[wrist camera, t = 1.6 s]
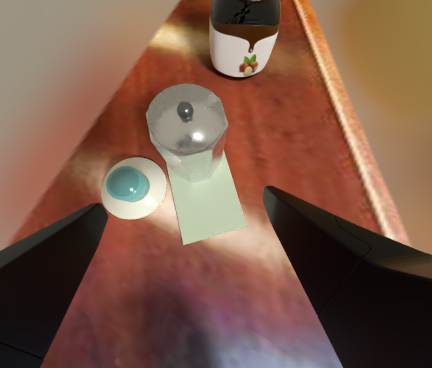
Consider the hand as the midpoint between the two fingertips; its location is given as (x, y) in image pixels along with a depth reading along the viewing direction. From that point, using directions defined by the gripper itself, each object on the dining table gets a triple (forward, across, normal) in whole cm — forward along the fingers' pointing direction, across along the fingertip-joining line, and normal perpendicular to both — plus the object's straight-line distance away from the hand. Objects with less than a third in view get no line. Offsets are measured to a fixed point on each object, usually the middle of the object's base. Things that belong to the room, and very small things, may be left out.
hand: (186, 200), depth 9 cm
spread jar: (+30, -10, -10) cm, 33 cm away
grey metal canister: (+15, 0, +4) cm, 16 cm away
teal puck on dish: (+13, +9, +6) cm, 17 cm away
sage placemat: (+12, -1, +7) cm, 14 cm away
